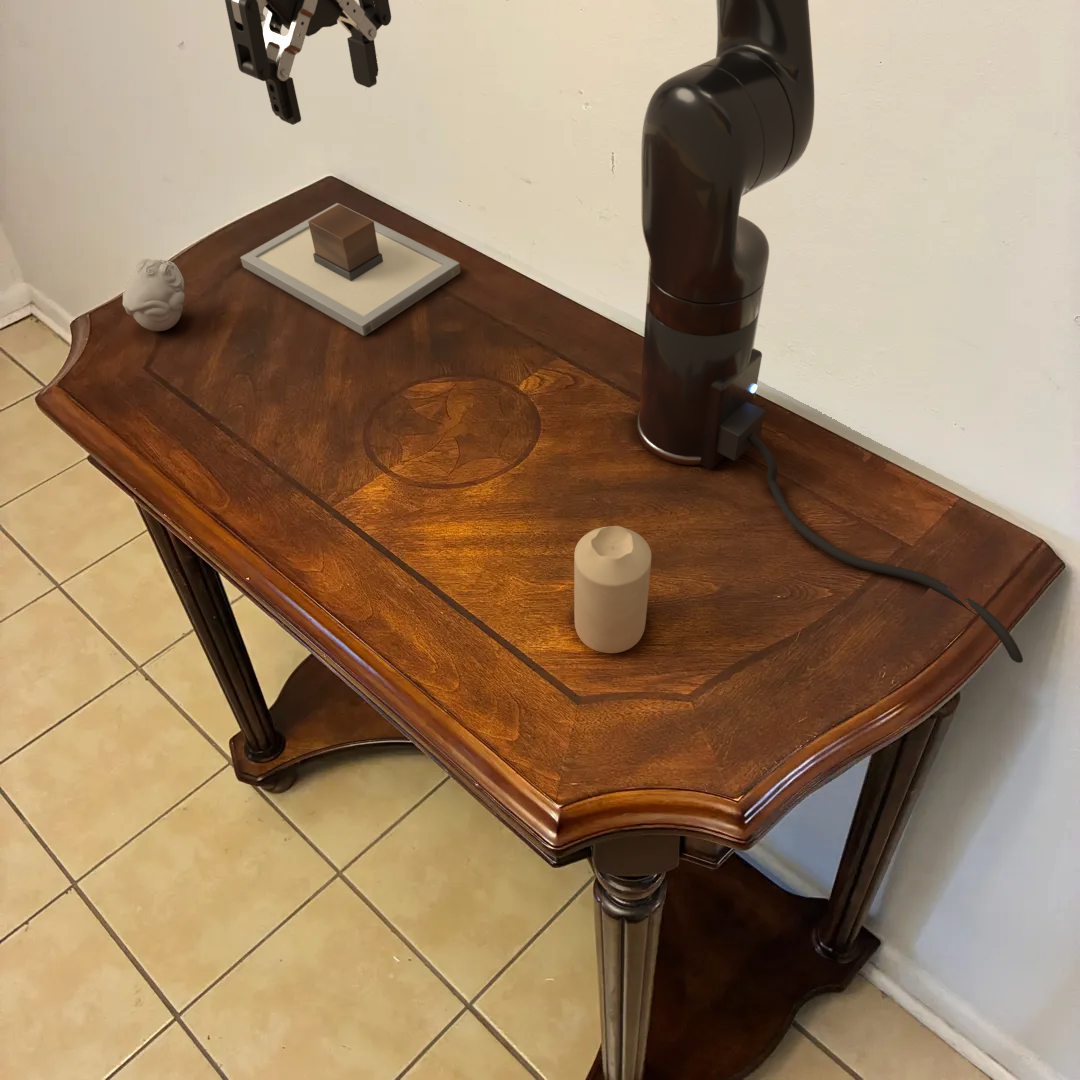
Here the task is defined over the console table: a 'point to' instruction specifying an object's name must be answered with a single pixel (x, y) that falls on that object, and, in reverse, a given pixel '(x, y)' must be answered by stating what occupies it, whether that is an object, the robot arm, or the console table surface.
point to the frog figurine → (155, 294)
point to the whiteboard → (367, 296)
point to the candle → (611, 588)
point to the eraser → (345, 242)
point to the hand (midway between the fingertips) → (329, 101)
